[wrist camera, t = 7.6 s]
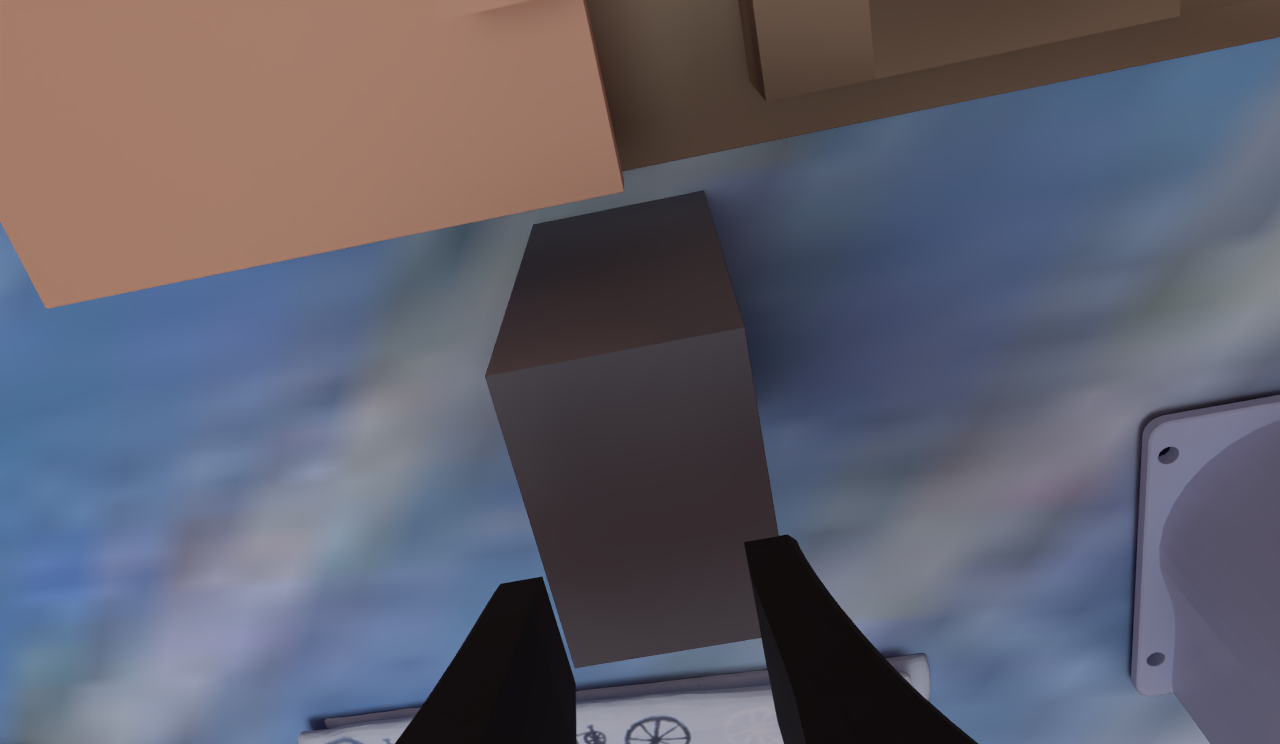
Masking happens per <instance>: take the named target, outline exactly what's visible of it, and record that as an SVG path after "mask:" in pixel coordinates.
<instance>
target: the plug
mask: <svg viewBox="0 0 1280 744" xmlns="http://www.w3.org/2000/svg"><path fill="white" fill-rule="evenodd" d="M485 378H486V381H487V384H488V388H489V391H490V394H491V397H492V401H493V404H494V407H495V410H496V414H497V417H498V420H499V423H500V427H501V430H502V433H503V436H504V440H505V443H506V446H507V449H508V453H509V456H510V459H511V462H512V466H513V469H514V472H515V475H516V479H517V482H518V485H519V488H520V492H521V495H522V498H523V501H524V505H525V508H526V511H527V514H528V518H529V521H530V524H531V527H532V531H533V534H534V537H535V540H536V544H537V547H538V550H539V553H540V557H541V560H542V563H543V566H544V570H545V573H546V576H547V579H548V583H549V586H550V589H551V592H552V596H553V599H554V602H555V605H556V609H557V612H558V615H559V618H560V622H561V625H562V628H563V631H564V635H565V638H566V641H567V644H568V648H569V651H570V654H571V657H572V661H573V664H574V667H575V668H579V667H585V666H591V665H597V664H603V663H609V662H615V661H622V660H628V659H634V658H640V657H646V656H652V655H658V654H664V653H671V652H677V651H683V650H689V649H695V648H701V647H707V646H713V645H719V644H726V643H732V642H738V641H744V640H750V639H756V638H762V637H761V632H760V627H759V621H758V616H757V611H756V605H755V600H754V594H753V589H752V584H751V578H750V573H749V567H748V562H747V557H746V551H745V546H744V542H747V541H753V540H759V539H765V538H771V537H776V536H779V535H778V529H777V523H776V517H775V511H774V505H773V499H772V493H771V487H770V481H769V474H768V468H767V462H766V456H765V450H764V444H763V438H762V432H761V426H760V420H759V413H758V407H757V401H756V395H755V389H754V383H753V377H752V371H751V365H750V359H749V352H748V346H747V340H746V334H745V328H744V324H743V321H742V318H741V314H740V311H739V308H738V304H737V301H736V298H735V294H734V291H733V288H732V284H731V281H730V278H729V274H728V271H727V268H726V264H725V261H724V257H723V254H722V251H721V247H720V244H719V241H718V237H717V234H716V231H715V227H714V224H713V221H712V217H711V214H710V211H709V207H708V204H707V201H706V197H705V194H704V190H703V191H699V192H694V193H689V194H684V195H679V196H674V197H669V198H664V199H659V200H654V201H649V202H644V203H639V204H634V205H629V206H624V207H619V208H614V209H609V210H604V211H599V212H594V213H589V214H584V215H579V216H574V217H569V218H564V219H559V220H554V221H549V222H544V223H539V224H534V225H533V227H532V230H531V234H530V237H529V240H528V243H527V246H526V249H525V252H524V256H523V259H522V262H521V265H520V268H519V271H518V274H517V278H516V281H515V284H514V287H513V290H512V293H511V297H510V300H509V303H508V306H507V309H506V312H505V315H504V319H503V322H502V325H501V328H500V331H499V334H498V337H497V341H496V344H495V347H494V350H493V353H492V356H491V360H490V363H489V366H488V369H487V372H486V375H485Z"/></svg>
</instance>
